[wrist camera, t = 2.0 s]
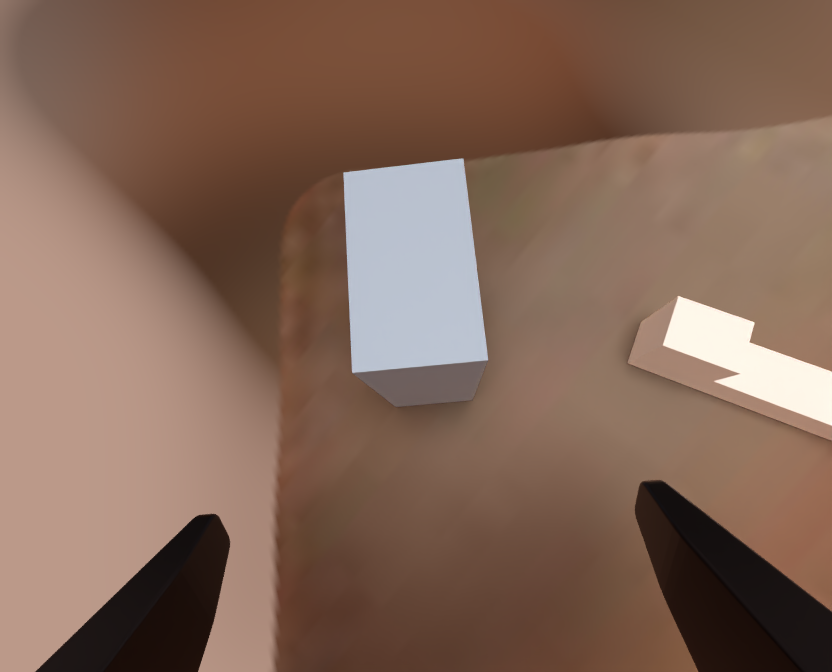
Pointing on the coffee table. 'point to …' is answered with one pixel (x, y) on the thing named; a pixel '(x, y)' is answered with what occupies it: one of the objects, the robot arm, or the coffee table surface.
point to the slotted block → (414, 283)
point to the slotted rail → (732, 365)
